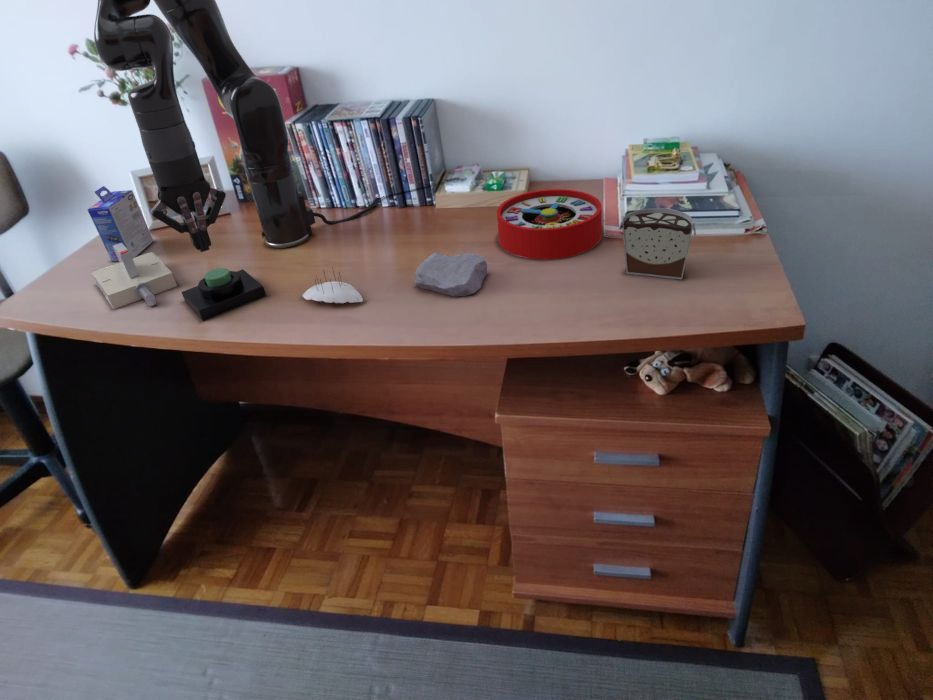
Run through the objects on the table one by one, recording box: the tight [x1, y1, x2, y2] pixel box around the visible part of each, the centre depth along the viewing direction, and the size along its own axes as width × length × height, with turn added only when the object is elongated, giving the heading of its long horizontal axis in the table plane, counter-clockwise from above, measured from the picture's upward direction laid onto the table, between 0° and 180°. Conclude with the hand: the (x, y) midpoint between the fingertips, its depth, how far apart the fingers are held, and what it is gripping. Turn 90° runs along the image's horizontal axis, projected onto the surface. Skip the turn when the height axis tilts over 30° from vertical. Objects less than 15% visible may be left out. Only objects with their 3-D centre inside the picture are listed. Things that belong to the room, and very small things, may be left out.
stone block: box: [414, 252, 488, 298], centre depth 119 cm, size 12×5×10 cm
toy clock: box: [496, 188, 603, 260], centre depth 131 cm, size 20×6×20 cm
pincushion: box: [301, 266, 364, 305], centre depth 118 cm, size 12×6×6 cm, turn 70°
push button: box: [203, 267, 232, 287], centre depth 122 cm, size 4×4×2 cm
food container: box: [618, 207, 697, 280], centre depth 114 cm, size 12×6×10 cm, turn 65°
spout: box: [135, 282, 157, 307], centre depth 125 cm, size 3×5×3 cm, turn 37°
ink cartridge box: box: [87, 185, 154, 262], centre depth 144 cm, size 10×6×14 cm, turn 174°
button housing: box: [181, 268, 267, 322], centre depth 123 cm, size 12×10×4 cm
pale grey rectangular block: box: [113, 243, 140, 279], centre depth 130 cm, size 6×2×5 cm, turn 37°
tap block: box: [91, 251, 178, 310], centre depth 132 cm, size 12×14×3 cm
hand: (203, 249), depth 119 cm, fingers closed
